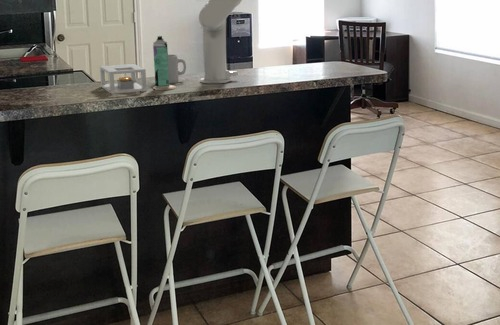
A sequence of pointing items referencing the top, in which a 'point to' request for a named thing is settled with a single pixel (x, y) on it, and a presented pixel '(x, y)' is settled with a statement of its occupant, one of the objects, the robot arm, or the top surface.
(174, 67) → the mug
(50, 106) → the top surface
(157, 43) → the spray can
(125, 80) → the button
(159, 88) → the coaster
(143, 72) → the white open box frame
